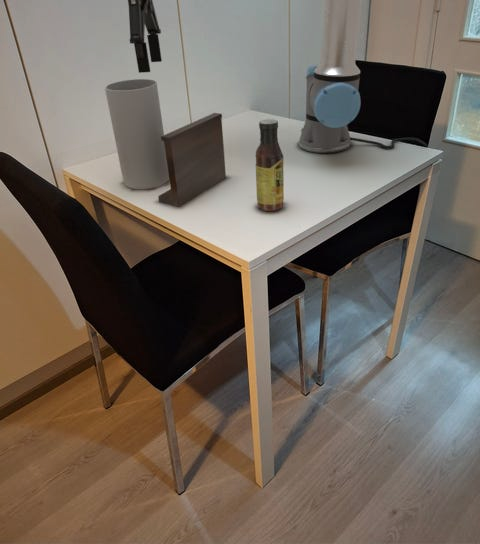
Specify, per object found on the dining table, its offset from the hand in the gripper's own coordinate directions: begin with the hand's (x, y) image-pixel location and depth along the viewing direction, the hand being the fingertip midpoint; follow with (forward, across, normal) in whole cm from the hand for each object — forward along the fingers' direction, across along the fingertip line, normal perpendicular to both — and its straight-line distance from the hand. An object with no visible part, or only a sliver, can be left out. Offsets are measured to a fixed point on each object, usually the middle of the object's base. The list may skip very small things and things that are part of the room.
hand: (150, 66), depth 123 cm
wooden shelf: (+27, +15, +10) cm, 33 cm away
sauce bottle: (+28, +26, +30) cm, 49 cm away
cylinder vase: (+28, +9, -4) cm, 29 cm away
